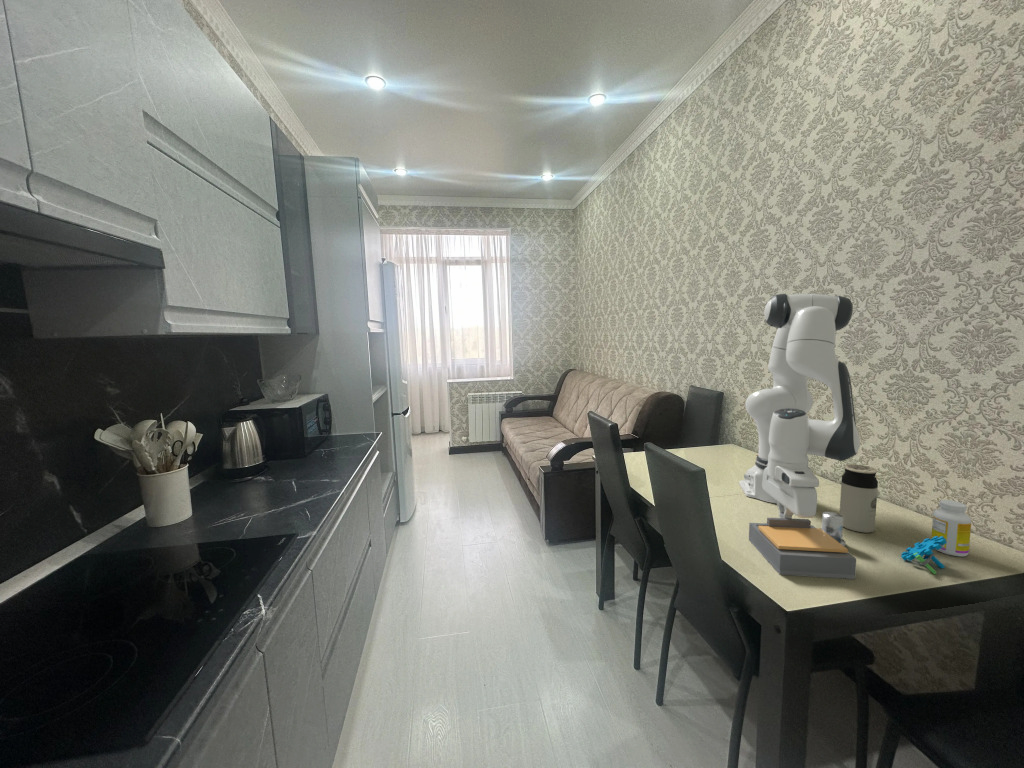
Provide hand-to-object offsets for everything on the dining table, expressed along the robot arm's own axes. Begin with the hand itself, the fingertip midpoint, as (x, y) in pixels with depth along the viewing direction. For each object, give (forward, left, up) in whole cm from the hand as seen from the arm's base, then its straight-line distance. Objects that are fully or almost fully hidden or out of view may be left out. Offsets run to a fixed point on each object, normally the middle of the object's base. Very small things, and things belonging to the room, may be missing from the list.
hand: (785, 519), depth 108 cm
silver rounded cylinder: (-2, +13, -7) cm, 15 cm away
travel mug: (-13, +26, -7) cm, 30 cm away
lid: (+7, 0, -2) cm, 7 cm away
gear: (+6, +28, -7) cm, 30 cm away
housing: (+7, 0, -7) cm, 10 cm away
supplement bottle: (-1, +40, -7) cm, 40 cm away
